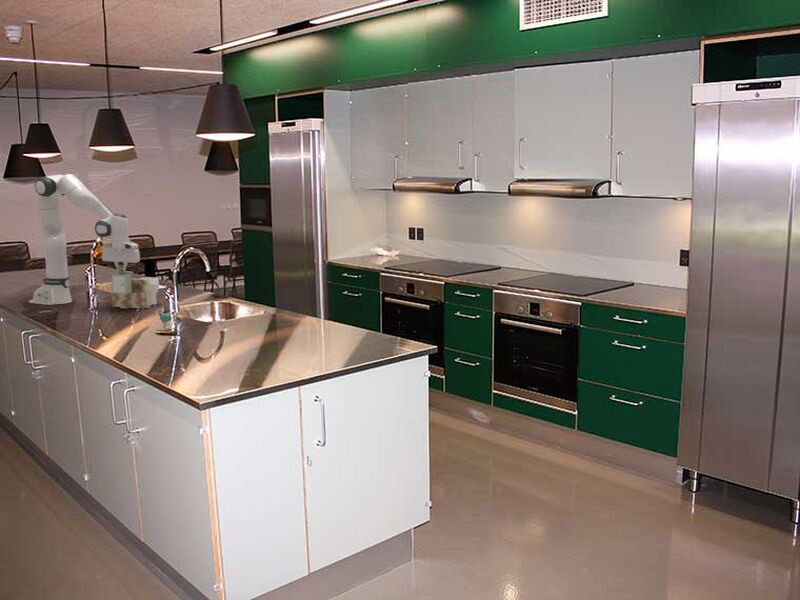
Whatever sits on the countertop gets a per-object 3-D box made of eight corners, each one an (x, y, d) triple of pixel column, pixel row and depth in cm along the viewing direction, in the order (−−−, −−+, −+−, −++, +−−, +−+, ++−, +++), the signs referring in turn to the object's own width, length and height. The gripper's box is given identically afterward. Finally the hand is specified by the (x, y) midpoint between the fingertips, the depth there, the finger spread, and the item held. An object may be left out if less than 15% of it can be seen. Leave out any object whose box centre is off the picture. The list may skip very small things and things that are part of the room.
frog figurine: (165, 338, 347) (162, 306, 346) (149, 335, 361) (146, 305, 360) (184, 335, 354) (182, 304, 352) (168, 333, 367) (165, 302, 366)
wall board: (110, 307, 416) (109, 278, 413) (116, 305, 423) (115, 277, 420) (144, 309, 413) (143, 280, 410) (150, 307, 420) (150, 278, 417)
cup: (162, 303, 432) (161, 277, 430) (154, 306, 422) (154, 280, 419) (144, 302, 433) (144, 276, 431) (136, 305, 423) (135, 279, 420)
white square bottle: (111, 293, 404) (110, 265, 402) (120, 290, 413) (119, 263, 411) (125, 294, 403) (124, 266, 401) (133, 291, 412) (133, 264, 410)
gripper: (99, 244, 401) (100, 269, 404) (135, 246, 399) (136, 271, 401) (105, 243, 408) (106, 268, 410) (141, 244, 405) (141, 270, 407)
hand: (121, 270), depth 406 cm, fingers closed on white square bottle
